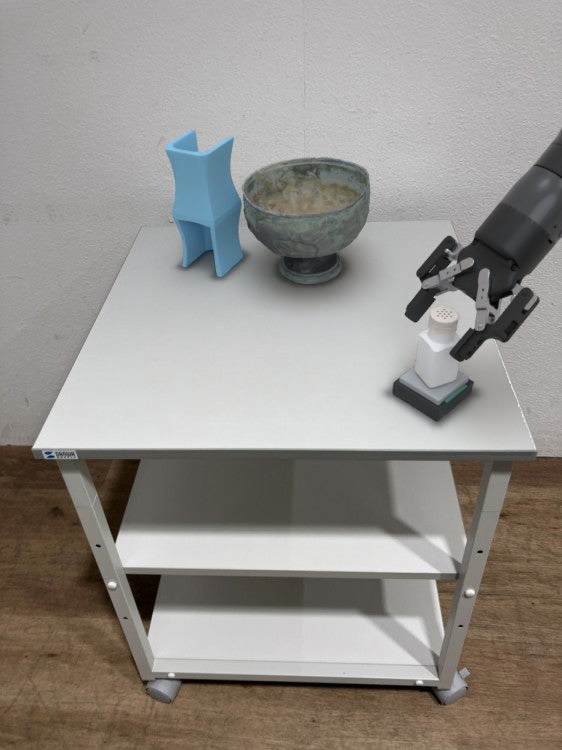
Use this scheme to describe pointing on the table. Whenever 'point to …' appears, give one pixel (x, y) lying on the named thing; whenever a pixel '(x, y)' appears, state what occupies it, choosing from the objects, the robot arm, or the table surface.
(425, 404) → the kitchen scale
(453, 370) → the salt shaker
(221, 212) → the blue curved channel stand
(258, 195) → the bowl
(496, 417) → the table surface
